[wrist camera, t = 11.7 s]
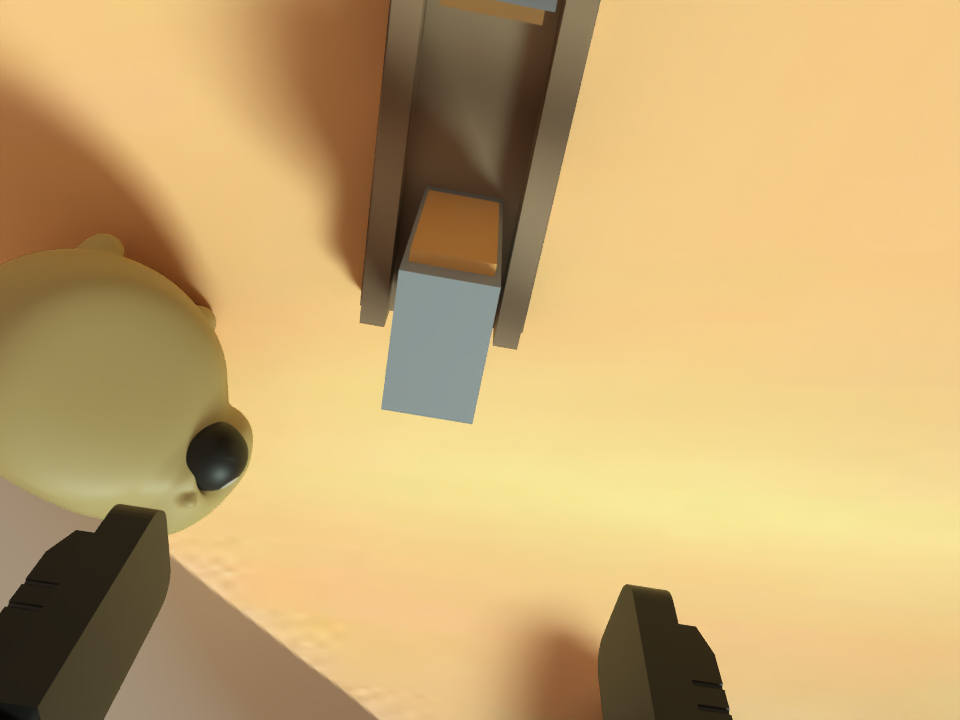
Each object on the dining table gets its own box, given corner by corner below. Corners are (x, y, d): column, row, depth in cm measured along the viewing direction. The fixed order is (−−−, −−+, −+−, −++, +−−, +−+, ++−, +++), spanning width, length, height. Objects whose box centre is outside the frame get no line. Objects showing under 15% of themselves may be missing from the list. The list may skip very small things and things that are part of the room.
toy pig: (183, 465, 37) (75, 642, 28) (-18, 289, 32) (-229, 433, 23) (327, 374, 34) (259, 541, 24) (129, 163, 29) (-49, 273, 20)
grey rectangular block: (427, 175, 27) (400, 257, 21) (505, 189, 28) (503, 275, 21) (410, 300, 30) (381, 409, 23) (480, 312, 30) (472, 424, 23)
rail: (425, -313, 21) (375, -454, 13) (657, -261, 21) (740, -369, 14) (364, 294, 31) (316, 414, 23) (521, 321, 32) (525, 448, 24)
